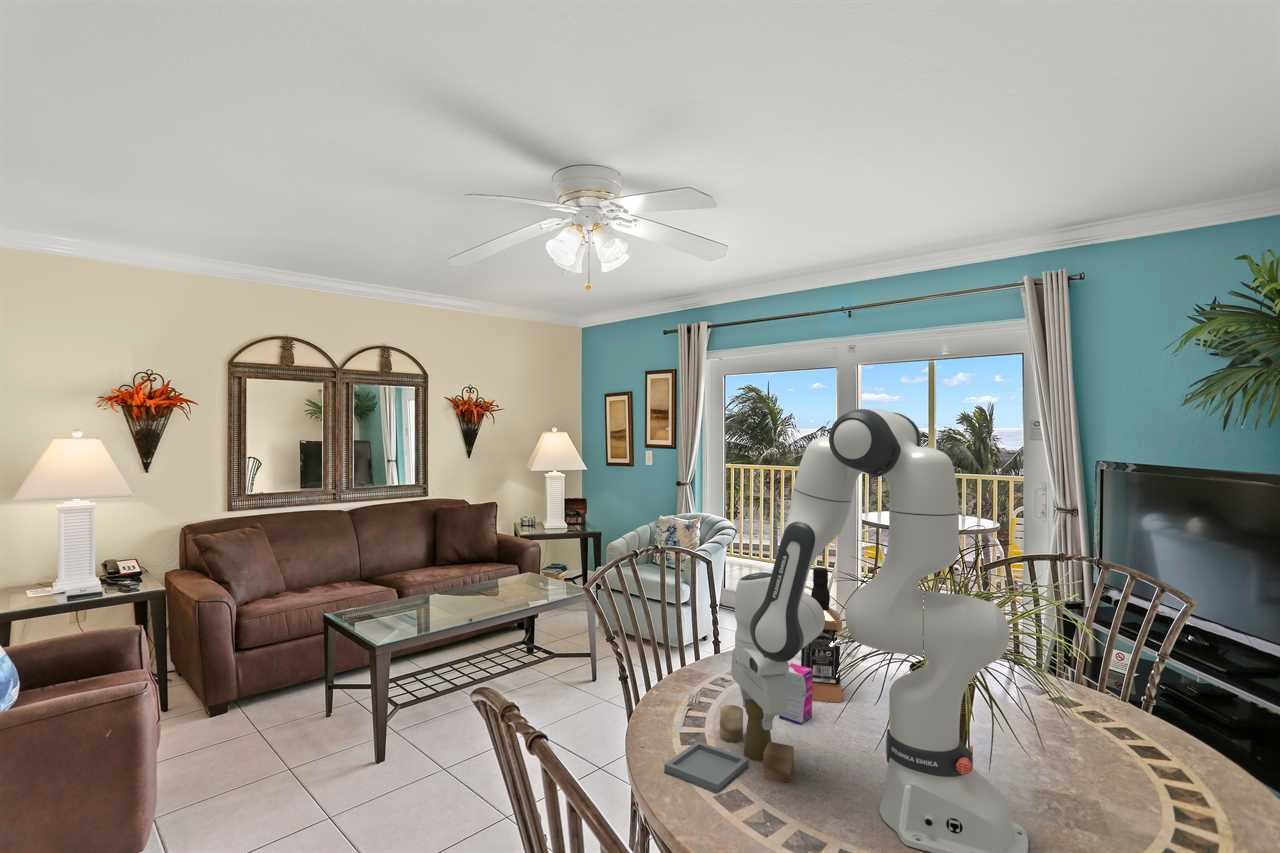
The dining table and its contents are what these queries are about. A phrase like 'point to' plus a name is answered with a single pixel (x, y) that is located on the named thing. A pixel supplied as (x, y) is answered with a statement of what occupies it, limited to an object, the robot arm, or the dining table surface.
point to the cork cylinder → (731, 723)
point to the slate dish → (706, 766)
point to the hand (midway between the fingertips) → (757, 717)
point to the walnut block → (778, 762)
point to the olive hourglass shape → (755, 732)
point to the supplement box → (798, 694)
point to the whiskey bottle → (824, 646)
